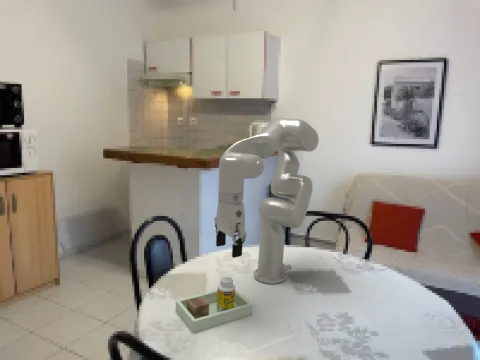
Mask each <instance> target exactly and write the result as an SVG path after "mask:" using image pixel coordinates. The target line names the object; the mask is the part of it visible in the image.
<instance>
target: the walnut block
mask: <svg viewBox="0 0 480 360" xmlns="http://www.w3.org/2000/svg"><path fill="white" fill-rule="evenodd" d="M187 310H188V311H189V312H190V314H191V315H192V316H193V317H194V318H195V319H197V318H201V317H204V316H208V315H209V303H208V302H207V301H206V300H205V299H204V298H203V297H202V296H201V297H197V298H194V299H190V300H187Z"/></svg>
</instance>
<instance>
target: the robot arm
mask: <svg viewBox="0 0 480 360" xmlns="http://www.w3.org/2000/svg"><path fill="white" fill-rule="evenodd" d="M319 138H320V137H319V134H318V131H316V129H315V128H314V127H313V126H312V125H311V124H310V123H308V122H307V121H304V120H303V119H299V118H284V117H283V118H282V117H281V118H276V119H275V118H274V119H273V120H272V121H271V122H270V123H268V125H266V126H265V128H264V129H262V130H261V131H260V132H259V133H258V134H256V135H253V136H250V137H247V138H245V139H242V140H239V141H236V142H235V143H233V144H232V145H230V146H229V147H228V148H227V149H226V150H225V151H224V152H223V153H222V155H221V156H220V158H219V162H218V163H219V164H218V192H217V193H218V194H217V195H218V197H217V202H218V203H217V208H216V209H217V210H216V217H214V218H213V219H214V220H213V221H214V224H215V225H214V227H215V234H216V235H215V236H216V238H215V240H216V241H215V247H217V248H218V247H223V246H225V245H226V242H227V241H226V238H227V236H228V237H230V238H231V239H232V242H233V244H232V245H231V246H232V247H231V249H232V250H231V257H232V258H240V257H242V256H243V245H244V243H245V241H246V238H247V235H248V234H247V231H246V211H245V210H246V209H245V206H244V205H245V203H243V202H244V187H245V186H244V185H245V179H246V180H247V179H248V180H249V179H250V180H251V179H254V180H255V179H257V178H259V177H260V176H261V175H263V173H264V170H265V163H264V159H263V158H265V157H270V156H272V155H274V154H275V153H276V152H277V155H278V156H277V157H278V162H277V166H276V168H275V171H274V174H273V178H272V181H271V185H270V191H271V193H272V194H273V195H274V196H277V197H280V198H277V197H267V198H264V199H262V201H260V203H259V206H258V215H259V224H260V227H259V229H260V230H259V245H258V260H257V269H254V271H253V278H254V279H255V280H257V281H258V282H260V283H262V284H268V285H275V284H276V285H277V284H282V283H283V282H285V280H286V278H287V274H286V273H285V272H286V271H289V270H292V268H293V267H292V265H291V264H287V265H286V264H285V263H284V253H285V251H284V250H285V241H286V240H285V239H286V237H285V231H284V228H283V227H286V228H287V227H288V228H294V229H298V228H300V227H302V225H303V224H304V221H305V218H306V217H307V216H306V215H307V211H308V209H309V205H310V202H311V198H312V193H313V190H314V189H313V181H312V179H311V178H310V177H309V176H307V175H302V174H298V173H299V170H300V160H299V159H298V157H297V155H296V154H295V152H294V151H299V152H309V153H310V152H313V151H315V150H316V149H317V147H318V145H319V140H320V139H319ZM283 198H284V199H283ZM286 199H287V200H286ZM288 199H289V200H288ZM293 200H294V201H293Z"/></svg>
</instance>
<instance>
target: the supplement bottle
mask: <svg viewBox="0 0 480 360" xmlns="http://www.w3.org/2000/svg"><path fill="white" fill-rule="evenodd" d="M219 281H220V282H219V283H218V285H217V289H216V290H217V310H218V311H219V312H221V311H225V310H228V309H232V308H234V299H235V290H236V285H235V284H234V279H233V278H232V277H229V276H223V277H221V278H220V279H219Z"/></svg>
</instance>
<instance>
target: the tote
mask: <svg viewBox="0 0 480 360" xmlns="http://www.w3.org/2000/svg"><path fill="white" fill-rule="evenodd" d="M201 296H202V297H203V298H204V299H205V300H206V301H207V302H208V303H209V315H208V316H204V317H201V318H197V319H195V318H194V317H193V316H192V315H191V314H190V312H189V311H188V310H187V300H190V299H194V298H197V297H201ZM175 312H176V313H177V314H178V316H179V317H180V318H181V320H182V321H183V322H184V323H185V325H186V326H187V327H188V329H189V330H190V331H191V332H192V333H193V334H195V333H197V332H201V331H204V330H207V329H210V328H213V327H218V326H220V325H223V324H226V323H229V322H233V321H237V320H240V319H243V318H245V317H248V316H252V315H253V303H251V302H250V301H249V300H247V298H245V297H244V296H243V295H241V294H240V293H239V291H237V290H236V289H235V299H234V308H232V309H228V310H225V311H221V312H219V311H218V310H217V289H215V290H212V291H208V292H204V293H201V294H200V293H199V294H197V295H191V296H188V297H183V298H181V299H176V300H175Z"/></svg>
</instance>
